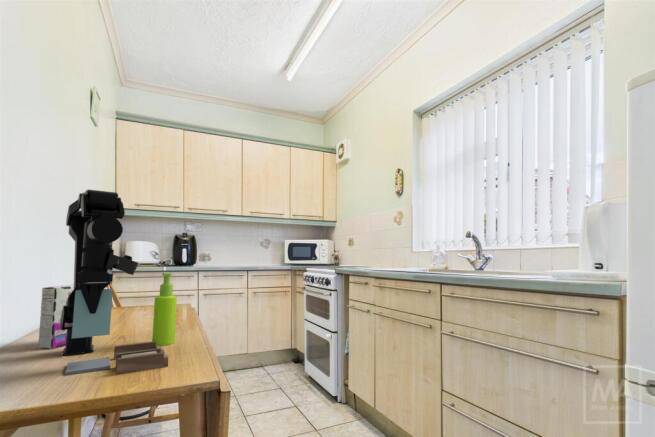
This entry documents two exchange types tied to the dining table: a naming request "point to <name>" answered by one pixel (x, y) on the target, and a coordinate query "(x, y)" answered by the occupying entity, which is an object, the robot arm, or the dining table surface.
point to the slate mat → (87, 366)
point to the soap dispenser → (165, 314)
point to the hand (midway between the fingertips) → (92, 312)
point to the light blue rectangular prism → (92, 316)
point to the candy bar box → (53, 316)
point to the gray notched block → (138, 354)
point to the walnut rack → (139, 357)
